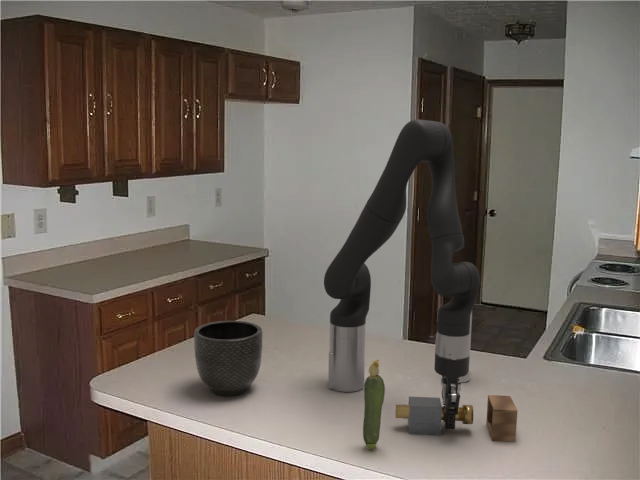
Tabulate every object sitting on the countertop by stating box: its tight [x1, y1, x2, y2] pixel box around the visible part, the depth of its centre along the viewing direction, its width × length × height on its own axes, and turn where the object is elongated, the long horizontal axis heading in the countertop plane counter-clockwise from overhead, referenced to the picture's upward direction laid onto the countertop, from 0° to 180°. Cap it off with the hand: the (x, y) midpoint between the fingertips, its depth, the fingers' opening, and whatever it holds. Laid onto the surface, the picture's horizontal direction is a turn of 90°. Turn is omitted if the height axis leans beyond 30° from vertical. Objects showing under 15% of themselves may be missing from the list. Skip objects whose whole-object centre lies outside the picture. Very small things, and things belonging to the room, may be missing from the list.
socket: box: [485, 394, 518, 443], centre depth 152 cm, size 5×8×7 cm, turn 175°
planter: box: [193, 320, 263, 397], centre depth 174 cm, size 17×17×16 cm
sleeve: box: [407, 396, 443, 436], centre depth 153 cm, size 7×5×7 cm
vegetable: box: [362, 359, 386, 450], centre depth 143 cm, size 4×4×20 cm
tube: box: [394, 404, 474, 425], centre depth 153 cm, size 17×4×4 cm, turn 85°
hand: (448, 424), depth 153 cm, fingers closed on tube, 3 cm apart
